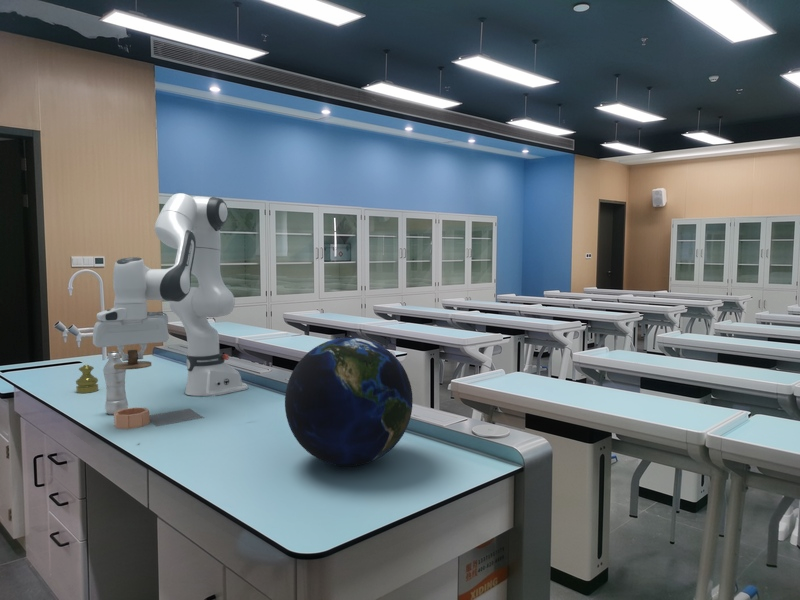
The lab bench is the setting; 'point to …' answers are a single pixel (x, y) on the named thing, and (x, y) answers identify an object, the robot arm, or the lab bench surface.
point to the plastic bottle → (115, 384)
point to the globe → (348, 401)
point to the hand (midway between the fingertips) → (132, 359)
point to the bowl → (131, 418)
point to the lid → (132, 362)
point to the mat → (174, 417)
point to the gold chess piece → (86, 380)
